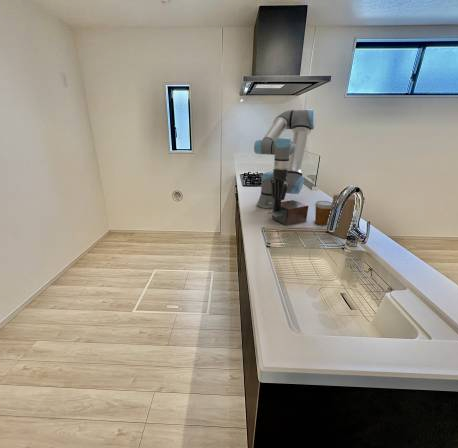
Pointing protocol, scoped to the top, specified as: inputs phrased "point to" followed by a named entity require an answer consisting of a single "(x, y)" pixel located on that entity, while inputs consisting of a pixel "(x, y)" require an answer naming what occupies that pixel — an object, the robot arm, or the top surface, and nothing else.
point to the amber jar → (322, 212)
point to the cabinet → (295, 212)
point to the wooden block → (344, 216)
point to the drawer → (279, 215)
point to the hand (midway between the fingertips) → (276, 211)
